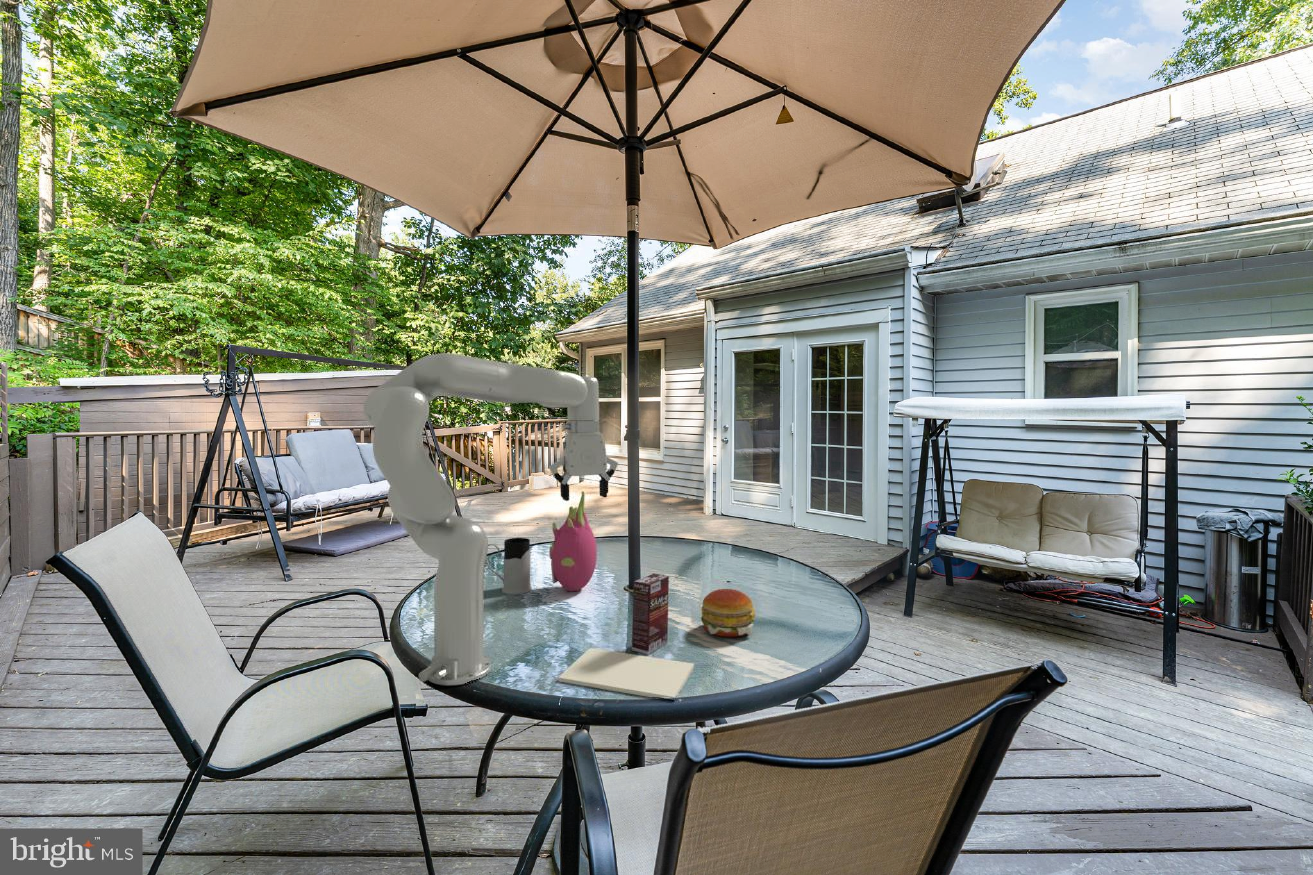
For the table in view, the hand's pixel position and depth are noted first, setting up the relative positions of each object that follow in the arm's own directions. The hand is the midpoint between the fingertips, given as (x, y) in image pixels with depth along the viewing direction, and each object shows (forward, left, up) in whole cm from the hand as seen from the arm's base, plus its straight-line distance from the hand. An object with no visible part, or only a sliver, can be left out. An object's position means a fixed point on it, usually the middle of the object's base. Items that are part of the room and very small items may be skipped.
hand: (584, 498), depth 137 cm
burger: (+12, -33, -33) cm, 49 cm away
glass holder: (+22, +36, -33) cm, 54 cm away
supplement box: (-4, -18, -33) cm, 38 cm away
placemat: (-18, -18, -33) cm, 42 cm away
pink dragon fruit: (+28, +17, -33) cm, 47 cm away
